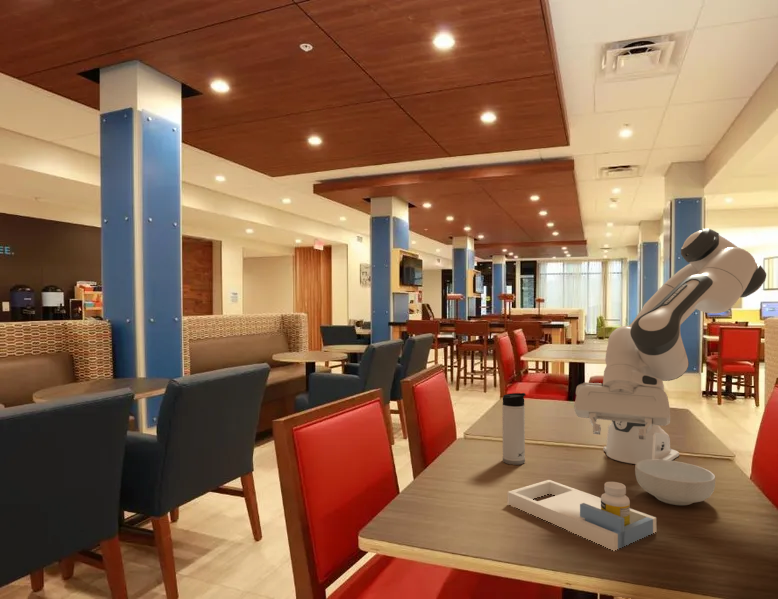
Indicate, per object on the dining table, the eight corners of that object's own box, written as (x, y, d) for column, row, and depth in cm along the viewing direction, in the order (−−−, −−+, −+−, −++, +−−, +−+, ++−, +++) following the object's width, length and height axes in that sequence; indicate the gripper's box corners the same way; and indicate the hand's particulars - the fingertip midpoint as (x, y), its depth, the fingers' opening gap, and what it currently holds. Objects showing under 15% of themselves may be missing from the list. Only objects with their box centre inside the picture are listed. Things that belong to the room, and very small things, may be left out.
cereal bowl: (715, 519, 113) (715, 486, 113) (630, 503, 121) (630, 473, 121) (715, 494, 127) (715, 465, 127) (639, 482, 136) (639, 454, 136)
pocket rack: (549, 491, 129) (549, 469, 129) (656, 532, 106) (656, 505, 106) (507, 504, 121) (507, 480, 121) (614, 551, 98) (613, 522, 98)
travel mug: (526, 465, 149) (526, 395, 149) (502, 464, 150) (502, 394, 150) (525, 459, 155) (525, 391, 155) (502, 457, 157) (502, 390, 157)
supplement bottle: (595, 530, 108) (594, 482, 108) (614, 525, 110) (614, 478, 110) (616, 541, 103) (615, 491, 103) (636, 536, 105) (636, 487, 105)
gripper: (575, 374, 129) (568, 422, 120) (670, 380, 119) (669, 433, 110) (578, 389, 133) (572, 437, 124) (670, 396, 123) (670, 449, 114)
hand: (618, 435), depth 117 cm, fingers open, 8 cm apart
